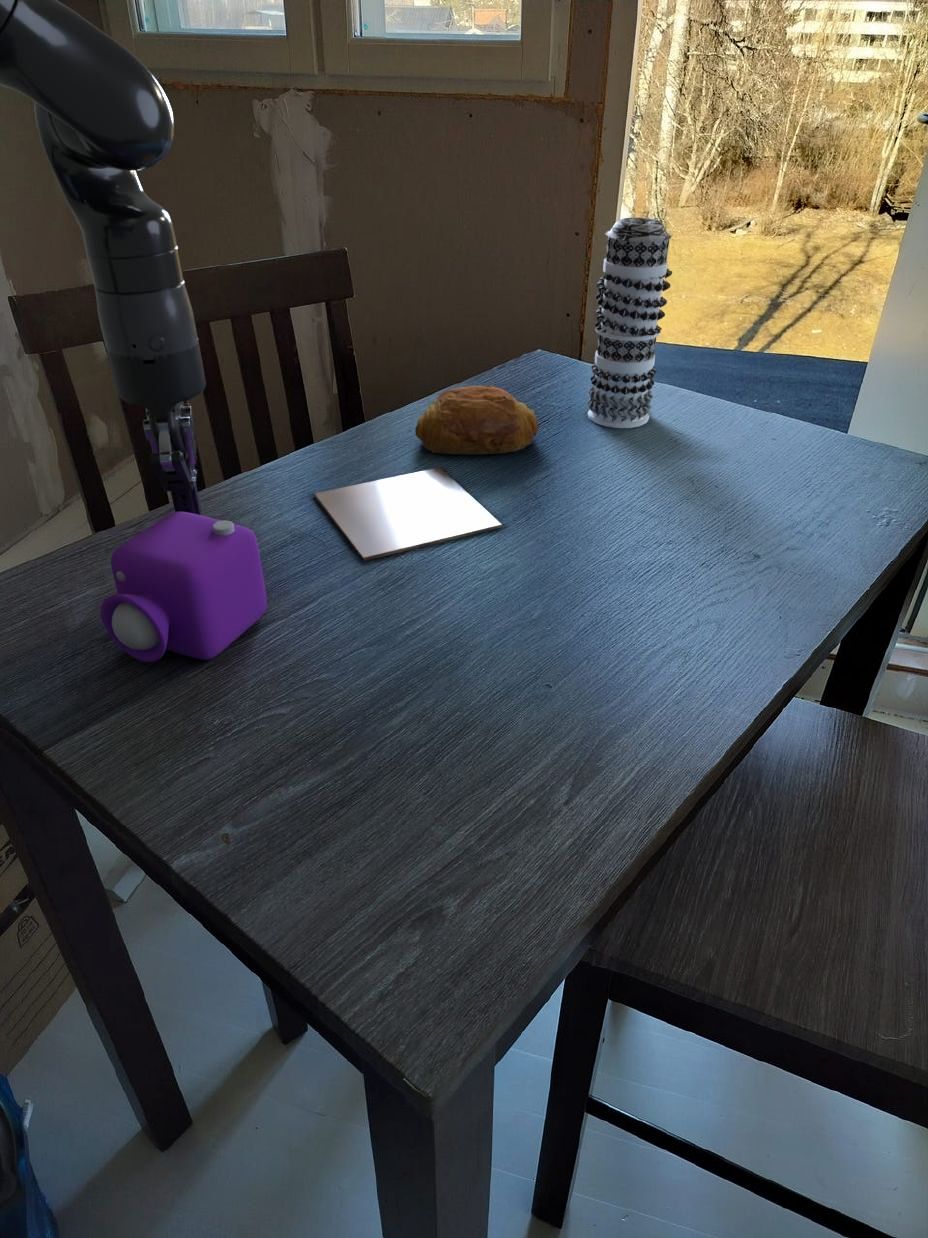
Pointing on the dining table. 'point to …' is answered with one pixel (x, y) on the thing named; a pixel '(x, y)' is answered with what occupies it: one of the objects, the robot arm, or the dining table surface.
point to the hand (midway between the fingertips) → (190, 518)
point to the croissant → (476, 422)
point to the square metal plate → (405, 513)
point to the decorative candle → (628, 322)
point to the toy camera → (184, 588)
